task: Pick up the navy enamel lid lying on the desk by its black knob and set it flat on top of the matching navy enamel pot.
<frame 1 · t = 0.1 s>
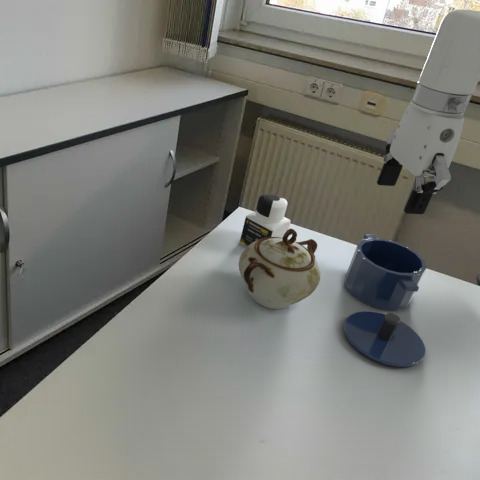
hand: (398, 198, 91), 24 cm above the table, tool pointing down, fingers open, 9 cm apart
lid: (383, 338, 97), point 1 cm above the table
medicine bottle: (261, 245, 121), on the table
sugar bowl: (270, 296, 106), on the table
pot: (376, 290, 110), on the table
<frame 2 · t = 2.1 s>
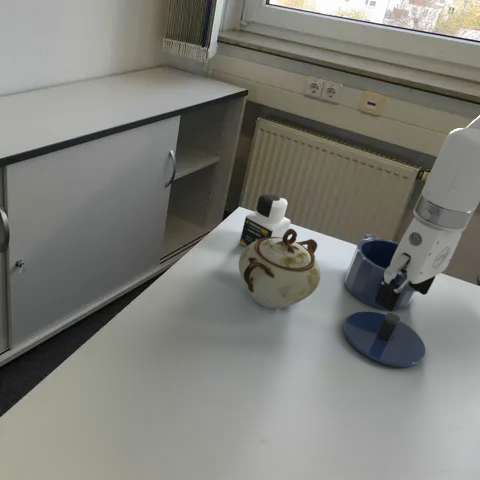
hand: (400, 297, 91), 10 cm above the table, tool pointing down, fingers open, 9 cm apart
nothing on the table moved.
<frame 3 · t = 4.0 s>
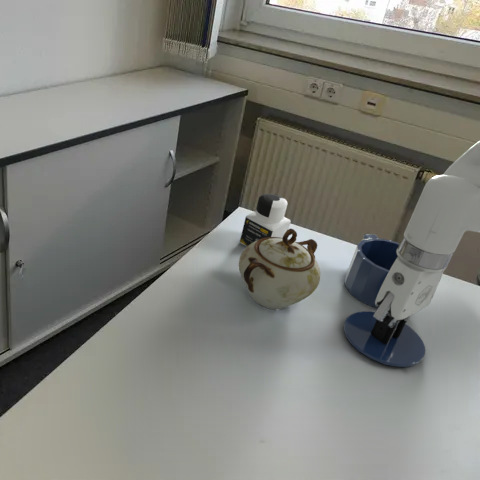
hand: (384, 335, 96), 1 cm above the table, tool pointing down, fingers closed on lid, 2 cm apart
lid: (383, 338, 97), point 1 cm above the table, touching gripper
everything else where it was.
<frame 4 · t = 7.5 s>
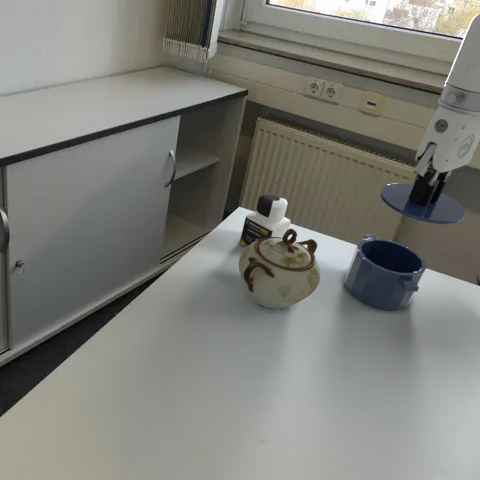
hand: (422, 200, 94), 23 cm above the table, tool pointing down, fingers closed on lid, 2 cm apart
lid: (420, 204, 95), point 22 cm above the table, touching gripper
everything else where it was.
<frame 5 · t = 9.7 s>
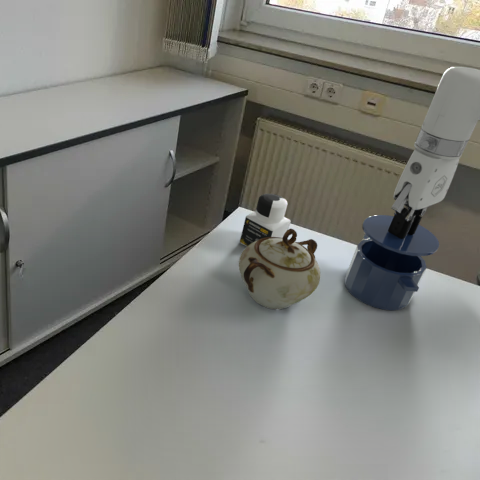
hand: (400, 232, 102), 14 cm above the table, tool pointing down, fingers closed on lid, 2 cm apart
lid: (399, 235, 103), point 13 cm above the table, touching gripper
everything else where it was.
when the fingers open (9 cm above the table, at t = 11.1 s): lid stays where it is, resting on pot.
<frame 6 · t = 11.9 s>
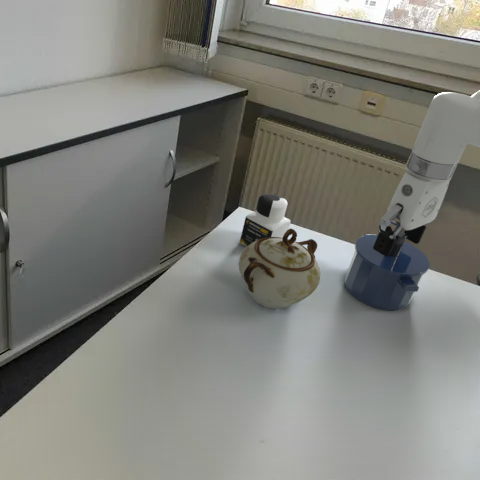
hand: (395, 246, 104), 11 cm above the table, tool pointing down, fingers open, 9 cm apart
lid: (391, 255, 105), point 8 cm above the table, touching pot
everything else where it was.
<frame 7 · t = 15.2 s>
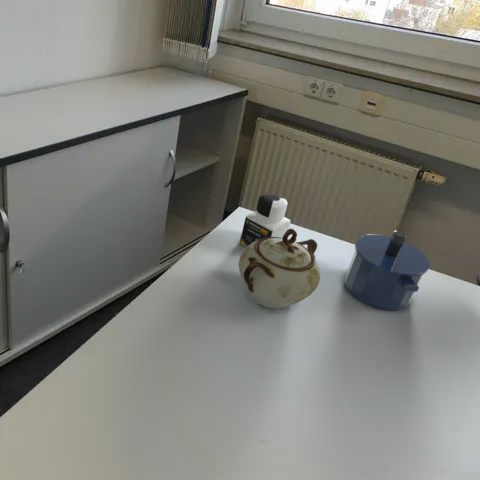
nothing on the table moved.
at the end: lid 0.1 cm off-centre on the pot, point 8.5 cm above the pot's base; lid tilted 0°; the gripper is holding nothing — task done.
